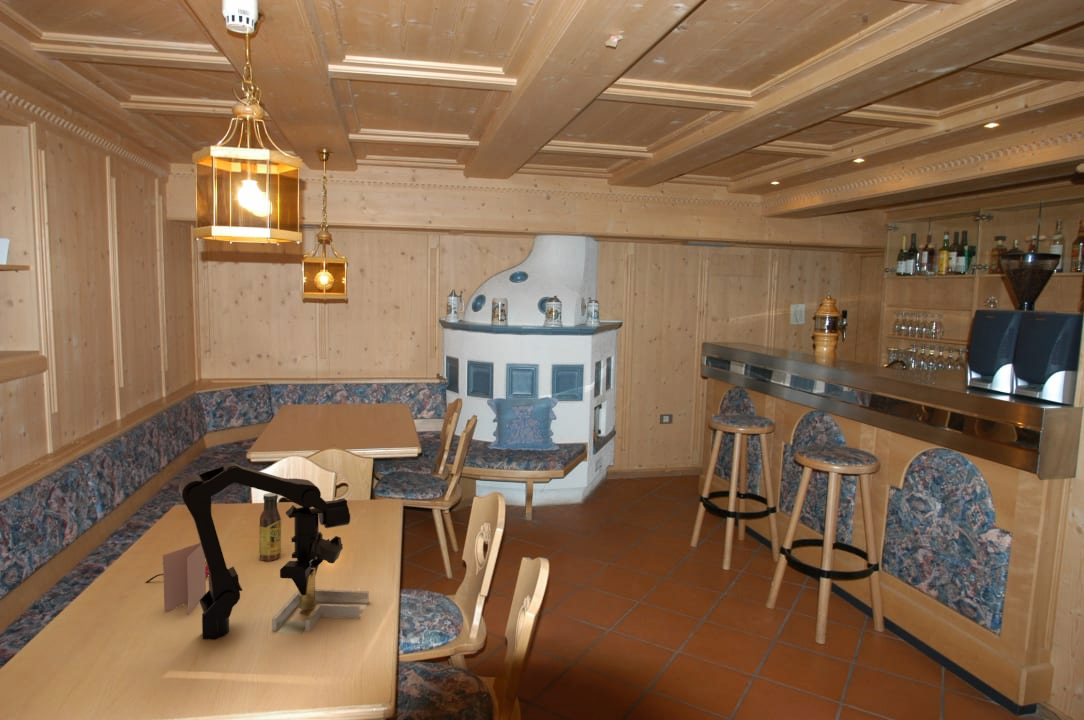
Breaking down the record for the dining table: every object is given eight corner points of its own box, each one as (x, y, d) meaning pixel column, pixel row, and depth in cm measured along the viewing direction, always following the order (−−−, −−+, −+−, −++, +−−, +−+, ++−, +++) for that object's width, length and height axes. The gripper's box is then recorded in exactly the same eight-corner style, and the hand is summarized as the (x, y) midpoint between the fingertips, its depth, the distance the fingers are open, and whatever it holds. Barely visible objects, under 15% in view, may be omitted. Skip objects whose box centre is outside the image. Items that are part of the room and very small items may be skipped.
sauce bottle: (273, 562, 202) (272, 498, 200) (254, 560, 203) (254, 496, 201) (285, 554, 208) (285, 492, 206) (267, 552, 209) (267, 490, 208)
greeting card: (203, 594, 180) (202, 540, 178) (221, 601, 176) (220, 546, 175) (162, 611, 170) (160, 554, 168) (180, 618, 166) (179, 560, 165)
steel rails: (349, 633, 159) (349, 621, 158) (272, 630, 159) (271, 618, 159) (368, 602, 175) (368, 591, 175) (299, 599, 176) (298, 588, 175)
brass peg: (312, 610, 167) (311, 571, 166) (296, 609, 167) (295, 570, 166) (317, 602, 171) (317, 565, 170) (302, 602, 171) (302, 564, 170)
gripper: (325, 546, 158) (325, 609, 159) (350, 520, 176) (350, 577, 178) (278, 544, 158) (279, 607, 160) (308, 518, 177) (309, 575, 178)
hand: (307, 591), depth 169 cm, fingers closed on brass peg, 4 cm apart
